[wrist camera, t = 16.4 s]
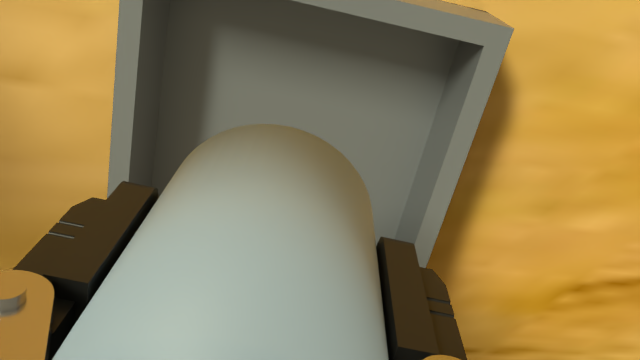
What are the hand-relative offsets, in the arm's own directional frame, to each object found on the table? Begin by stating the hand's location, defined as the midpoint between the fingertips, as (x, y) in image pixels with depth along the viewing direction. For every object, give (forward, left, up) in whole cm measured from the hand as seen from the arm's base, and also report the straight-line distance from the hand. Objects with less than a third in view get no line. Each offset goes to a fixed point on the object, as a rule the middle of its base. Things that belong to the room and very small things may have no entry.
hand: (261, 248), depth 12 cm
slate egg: (0, 0, -1) cm, 1 cm away
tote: (+4, 0, -13) cm, 14 cm away
